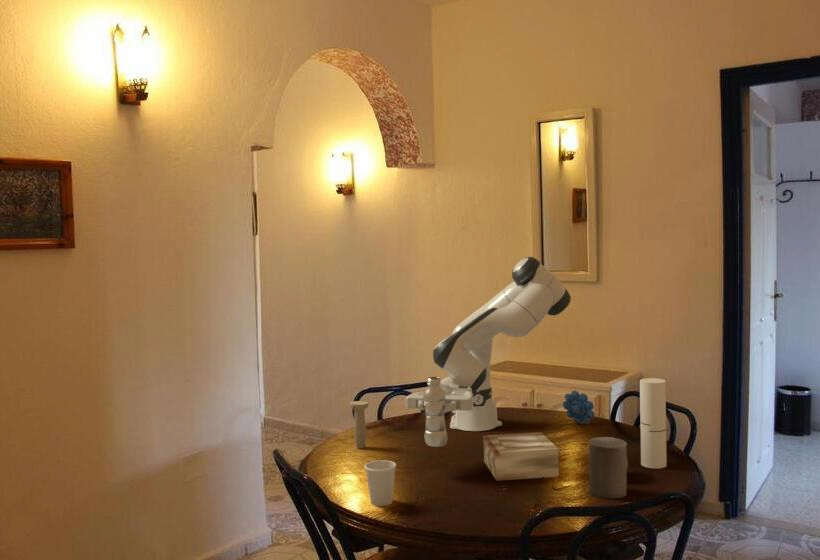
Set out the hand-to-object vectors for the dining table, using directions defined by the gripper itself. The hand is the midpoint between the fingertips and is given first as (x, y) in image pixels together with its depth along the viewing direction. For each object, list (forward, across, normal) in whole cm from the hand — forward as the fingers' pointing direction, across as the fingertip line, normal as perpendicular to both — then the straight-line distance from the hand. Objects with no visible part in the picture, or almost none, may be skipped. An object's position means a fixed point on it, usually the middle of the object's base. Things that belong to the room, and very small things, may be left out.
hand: (434, 407), depth 219 cm
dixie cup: (+24, -9, +20) cm, 33 cm away
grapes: (-63, +37, +20) cm, 76 cm away
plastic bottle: (-1, 0, +12) cm, 12 cm away
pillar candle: (+7, +49, +20) cm, 53 cm away
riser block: (-9, +23, +20) cm, 32 cm away
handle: (-23, -31, +20) cm, 43 cm away
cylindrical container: (-19, +61, +20) cm, 67 cm away
